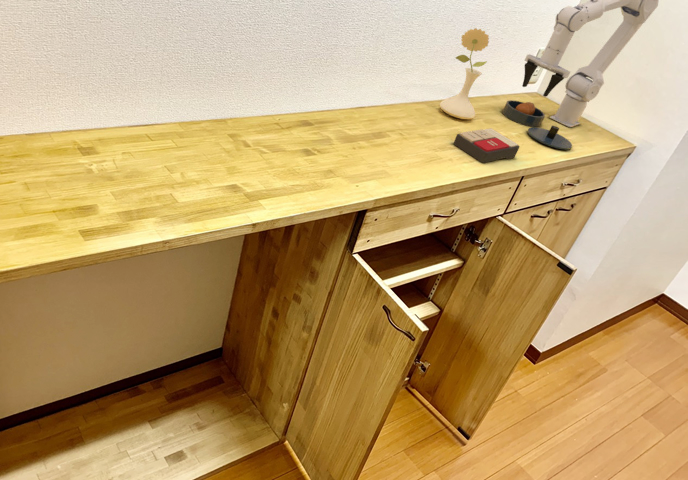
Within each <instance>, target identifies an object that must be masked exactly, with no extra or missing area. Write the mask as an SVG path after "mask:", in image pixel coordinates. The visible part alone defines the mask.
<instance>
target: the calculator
mask: <svg viewBox="0 0 688 480" xmlns="http://www.w3.org/2000/svg"><path fill="white" fill-rule="evenodd" d="M452 144H453V145H454V146H456V147H457V148H458V149H460V150H462V151H463V152H465V153H466V154H467V155H470V156H471V157H473V158H474V159H475V160H477V161H479V162H480V163H482V164H484V163H488V162H493V161H497V160H502V159H506V160H510V159H514V158H516V156H517V153H518V152H519V149H520V145H519V143H517V142H515V141H514V140H512V139H510V138H508V137H506V136H505V135H503V134H501V133H500V132H498V131H496V130H495V129H493V128H484V129H483V128H481V129H475V130H472V131H471V130H469V131H463V132H460V133H457V134H456V136H455V138H454V141H453V143H452Z"/></svg>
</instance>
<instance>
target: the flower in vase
mask: <svg viewBox="0 0 688 480" xmlns="http://www.w3.org/2000/svg"><path fill="white" fill-rule="evenodd" d="M489 36H490V35H489V34H487V33H486V31H485V30H482V28H479V29H478V28H476V27H474V28H473V29H472V28H470V29H468V30H467V31H465V32H464V34H462V35H461V46H462V47H463V48H466V50H467V51H470V55H469V56H467V55H466V54H459V55H457V56H456V57H455V59H456V60H457V61H459V62H460V63H467V62H469V64H470V67H466V68H465V74H466V75H465V79H464V84H463V86H462V88H461V90H460V92H458V94H456V95H453V96H450V97H448V98H445V99H443V100H442V101H441V102H439V107H440V109H441V111H443V112H444V113H446V114H447V115H449V116H451V117H454V118H457V119H461V120H472V119H473V118H475V117H476V110H475V108H474V106H473V104H472V102H471V101H470V98H469V93H470V90H471V89H472V86H473V84H474V83H475V81H476V80H477V79H478V78H479V77H480V76H482V75H483V73H482V72H481V71H480V70H477V69H475V68H473V67H477V68H479V67H482V66H483V67H484V65H485V64H486V63H487V62H488V60H486V61H477V62H474V63H473V64H472V54H473V52H478V51H480V52H482V51H483V50H484V49H486V48H487V47H488V46H489V43H490V41H489V39H490V38H489Z"/></svg>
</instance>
